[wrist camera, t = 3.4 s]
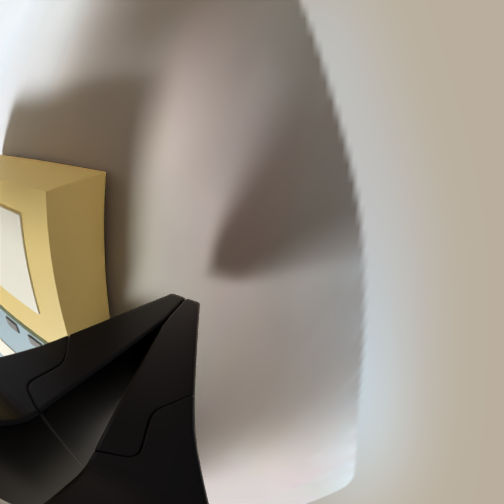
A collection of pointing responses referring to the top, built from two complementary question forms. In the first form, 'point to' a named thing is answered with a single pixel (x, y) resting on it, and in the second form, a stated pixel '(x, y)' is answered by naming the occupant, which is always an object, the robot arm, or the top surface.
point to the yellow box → (52, 246)
